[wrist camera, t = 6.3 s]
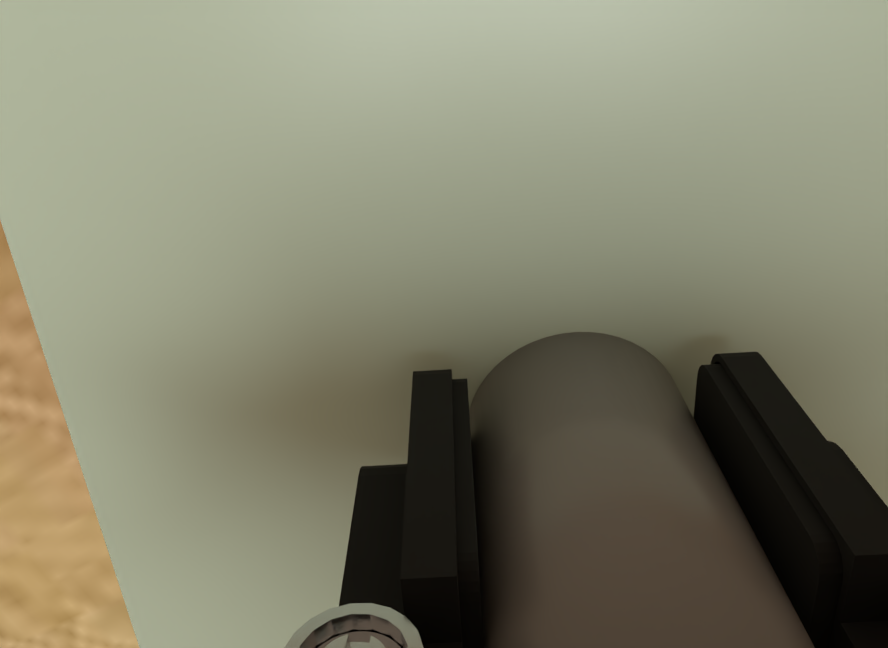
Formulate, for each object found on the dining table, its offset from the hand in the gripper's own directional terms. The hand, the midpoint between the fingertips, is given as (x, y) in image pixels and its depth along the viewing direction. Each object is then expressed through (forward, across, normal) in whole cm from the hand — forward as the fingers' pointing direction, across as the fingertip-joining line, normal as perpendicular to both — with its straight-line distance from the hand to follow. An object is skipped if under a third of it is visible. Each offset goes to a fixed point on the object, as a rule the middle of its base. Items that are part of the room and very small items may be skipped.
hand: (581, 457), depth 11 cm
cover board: (+2, 0, 0) cm, 2 cm away
